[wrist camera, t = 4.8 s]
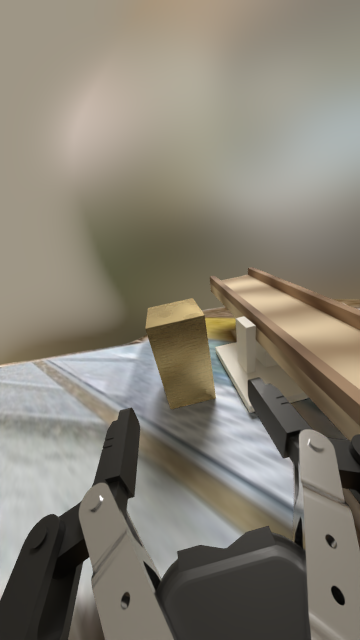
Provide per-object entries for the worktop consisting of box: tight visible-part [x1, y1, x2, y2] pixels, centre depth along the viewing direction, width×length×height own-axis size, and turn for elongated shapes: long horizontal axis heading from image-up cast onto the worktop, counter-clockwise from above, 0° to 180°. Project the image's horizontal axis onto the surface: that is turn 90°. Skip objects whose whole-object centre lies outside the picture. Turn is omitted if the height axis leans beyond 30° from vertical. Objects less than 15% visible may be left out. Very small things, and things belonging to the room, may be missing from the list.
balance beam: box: [210, 267, 360, 440], centre depth 18 cm, size 30×8×3 cm, turn 8°
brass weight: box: [146, 298, 216, 409], centre depth 18 cm, size 5×5×10 cm
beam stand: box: [215, 303, 346, 413], centre depth 19 cm, size 10×14×7 cm
